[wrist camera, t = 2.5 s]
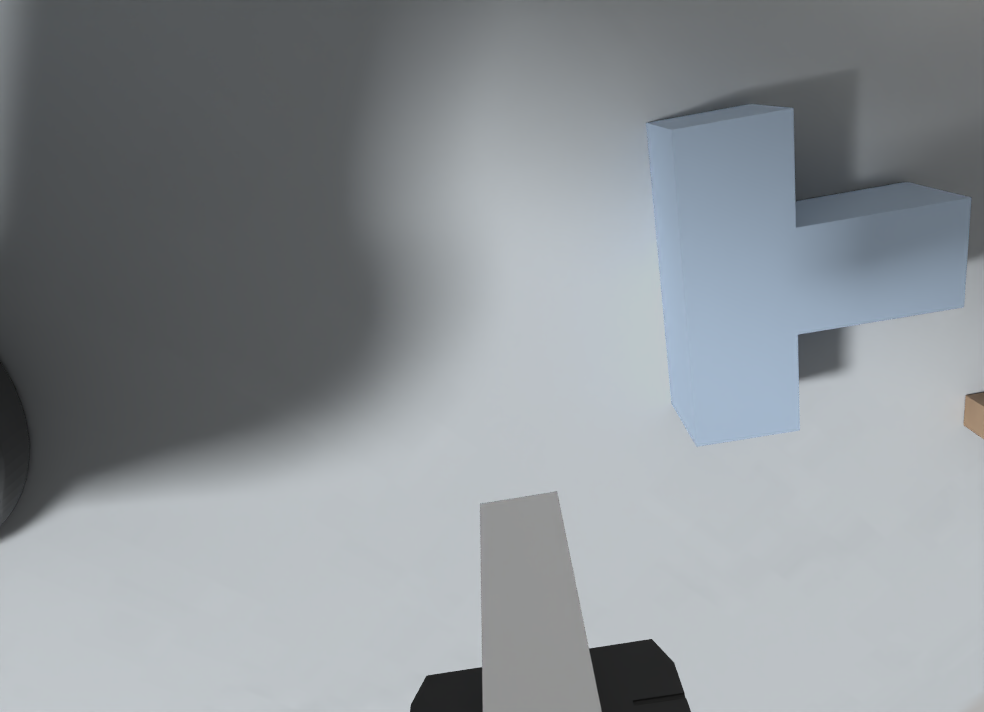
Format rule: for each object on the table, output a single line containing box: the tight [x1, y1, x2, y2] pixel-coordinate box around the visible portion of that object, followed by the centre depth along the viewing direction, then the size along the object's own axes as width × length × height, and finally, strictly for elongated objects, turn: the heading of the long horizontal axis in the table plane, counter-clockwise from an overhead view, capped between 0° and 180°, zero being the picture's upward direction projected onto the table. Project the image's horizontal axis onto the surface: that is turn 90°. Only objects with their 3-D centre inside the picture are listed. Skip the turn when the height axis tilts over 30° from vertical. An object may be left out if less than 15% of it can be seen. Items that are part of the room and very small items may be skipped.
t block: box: [646, 104, 971, 447], centre depth 27 cm, size 10×12×4 cm
